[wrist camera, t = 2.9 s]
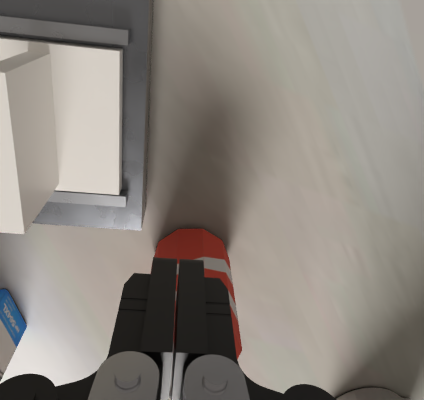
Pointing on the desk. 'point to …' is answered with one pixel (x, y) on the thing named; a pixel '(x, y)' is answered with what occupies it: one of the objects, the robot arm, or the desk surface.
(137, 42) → the socket plate
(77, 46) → the t-shaped bracket
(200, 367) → the robot arm
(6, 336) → the ink box
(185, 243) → the beverage can
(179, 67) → the desk surface
